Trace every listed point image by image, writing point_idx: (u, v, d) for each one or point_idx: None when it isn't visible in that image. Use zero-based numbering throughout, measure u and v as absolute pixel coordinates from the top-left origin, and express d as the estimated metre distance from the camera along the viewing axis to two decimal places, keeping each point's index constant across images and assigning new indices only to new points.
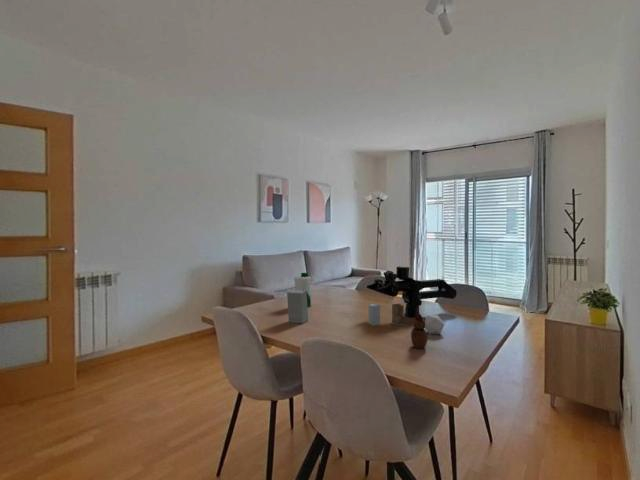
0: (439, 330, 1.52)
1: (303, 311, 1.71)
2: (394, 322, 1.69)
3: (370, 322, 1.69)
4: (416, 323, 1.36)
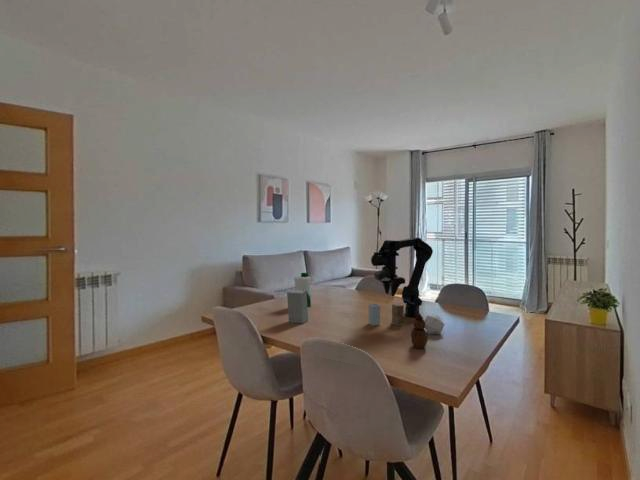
0: (439, 330, 1.52)
1: (303, 311, 1.71)
2: (394, 322, 1.69)
3: (370, 322, 1.69)
4: (416, 323, 1.36)
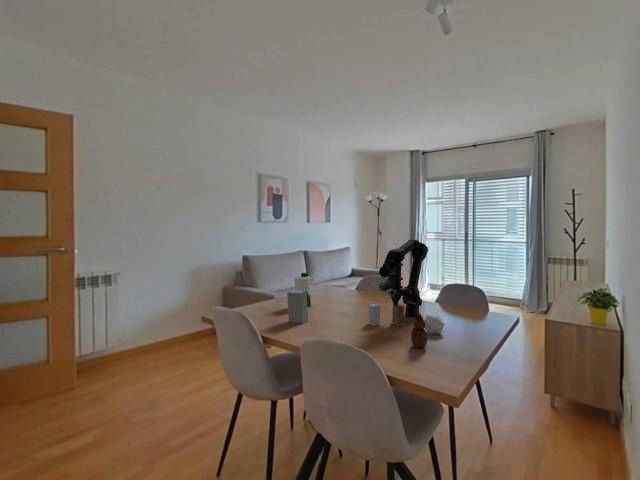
0: (439, 330, 1.52)
1: (303, 311, 1.71)
2: (394, 322, 1.68)
3: (370, 322, 1.69)
4: (416, 323, 1.36)
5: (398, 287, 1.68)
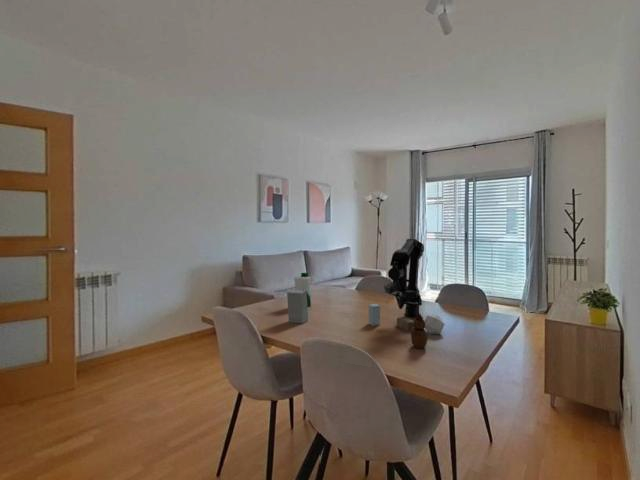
0: (439, 330, 1.52)
1: (303, 311, 1.71)
2: (397, 322, 1.66)
3: (370, 322, 1.69)
4: (416, 323, 1.36)
5: (404, 289, 1.64)
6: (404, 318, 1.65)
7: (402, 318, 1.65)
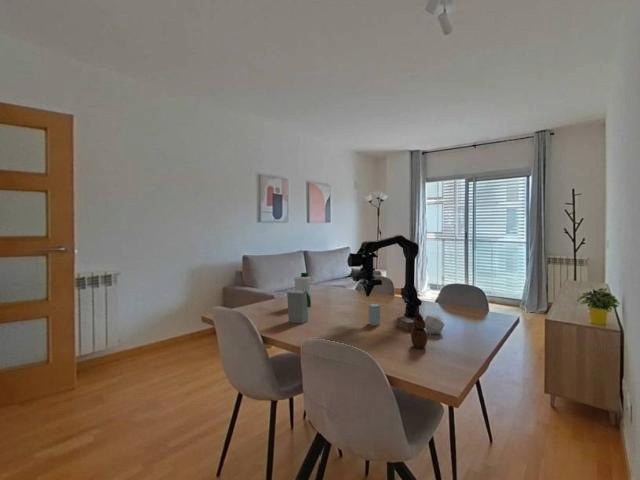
0: (439, 330, 1.52)
1: (303, 311, 1.71)
2: (397, 322, 1.66)
3: (370, 322, 1.69)
4: (416, 323, 1.36)
5: (370, 277, 1.72)
6: (404, 318, 1.65)
7: (402, 318, 1.65)
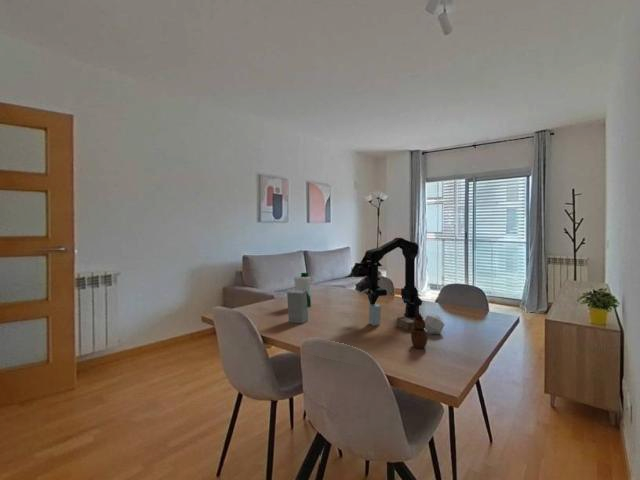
0: (439, 330, 1.52)
1: (303, 311, 1.71)
2: (397, 322, 1.66)
3: (370, 322, 1.69)
4: (416, 323, 1.36)
5: (375, 287, 1.68)
6: (404, 318, 1.65)
7: (402, 318, 1.65)
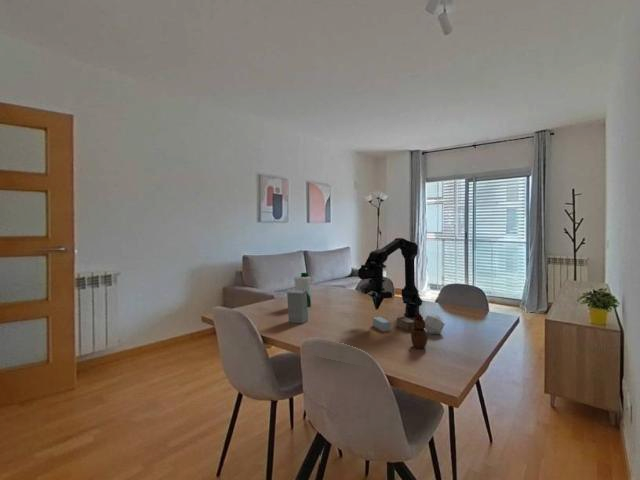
0: (439, 330, 1.52)
1: (303, 311, 1.71)
2: (397, 322, 1.66)
3: (373, 321, 1.66)
4: (416, 323, 1.36)
5: (379, 289, 1.63)
6: (404, 318, 1.65)
7: (402, 318, 1.65)
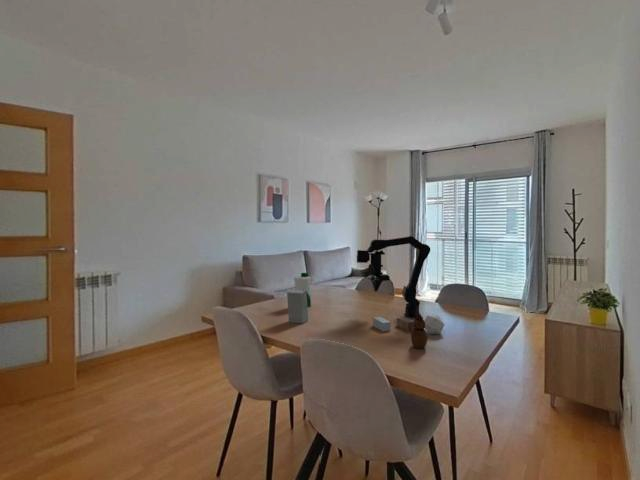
0: (439, 330, 1.52)
1: (303, 311, 1.71)
2: (397, 322, 1.66)
3: (373, 321, 1.66)
4: (416, 323, 1.36)
5: (378, 273, 1.82)
6: (404, 318, 1.65)
7: (402, 318, 1.65)
